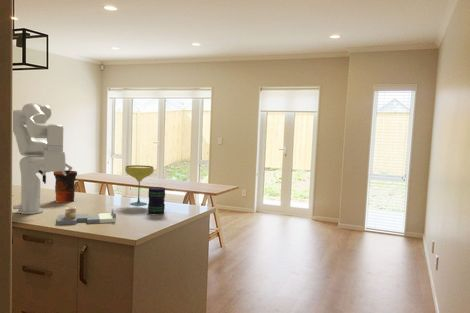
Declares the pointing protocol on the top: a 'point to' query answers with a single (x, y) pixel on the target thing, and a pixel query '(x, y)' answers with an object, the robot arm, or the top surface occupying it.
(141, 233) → the top surface
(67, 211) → the maple block
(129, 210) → the top surface
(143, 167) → the cocktail glass
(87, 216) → the trap board
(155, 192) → the storage jar
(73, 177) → the vessel
